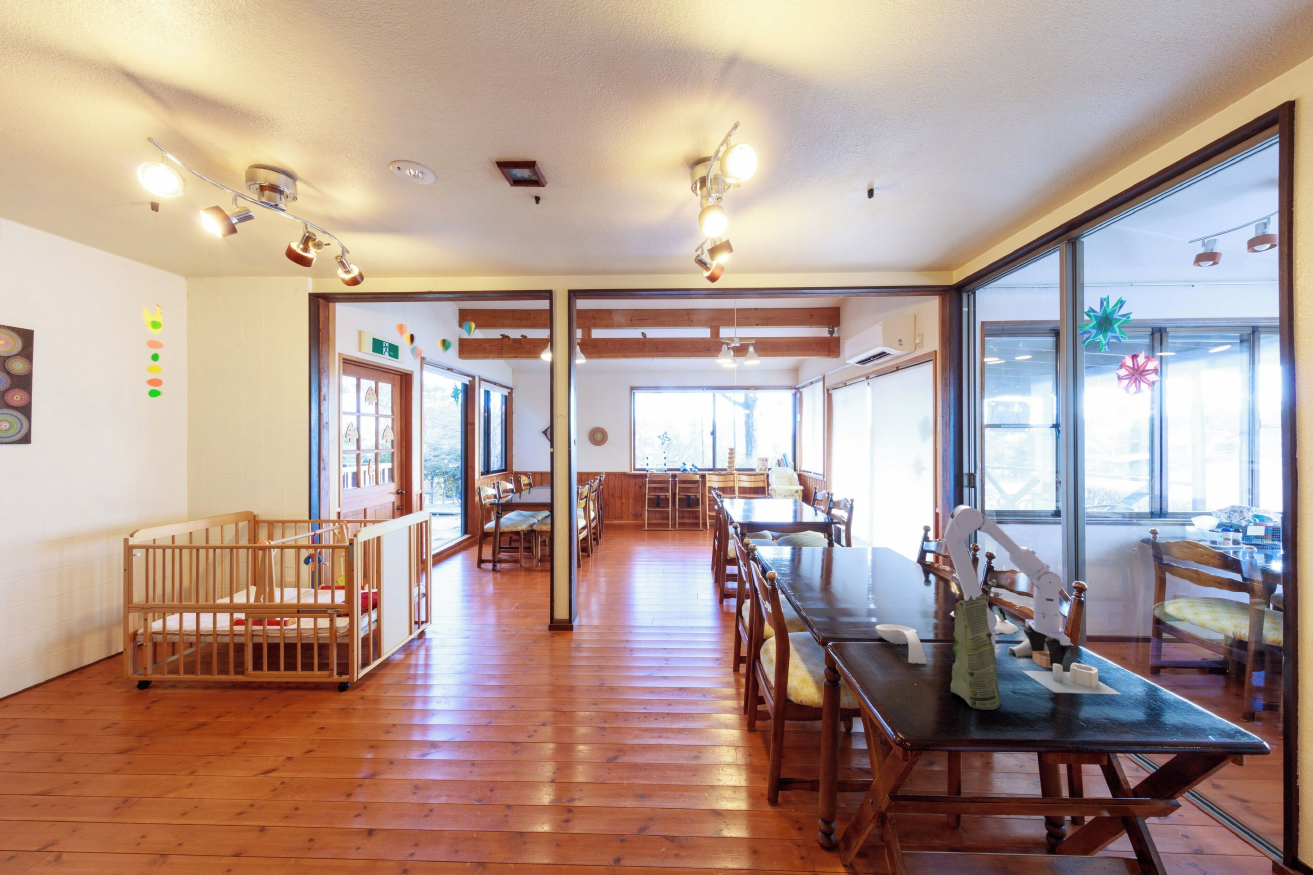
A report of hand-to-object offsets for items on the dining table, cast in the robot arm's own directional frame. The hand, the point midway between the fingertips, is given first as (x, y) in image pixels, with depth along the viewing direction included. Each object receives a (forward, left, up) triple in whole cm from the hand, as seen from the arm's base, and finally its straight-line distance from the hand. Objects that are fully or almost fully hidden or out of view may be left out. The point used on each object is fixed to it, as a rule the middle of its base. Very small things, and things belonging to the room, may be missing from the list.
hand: (1046, 661), depth 140 cm
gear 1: (0, 0, -2) cm, 2 cm away
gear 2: (+2, -10, -1) cm, 11 cm away
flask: (+4, +7, +2) cm, 9 cm away
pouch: (-31, -20, -2) cm, 37 cm away
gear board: (-2, -11, -2) cm, 11 cm away
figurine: (+3, +35, -2) cm, 35 cm away
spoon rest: (-34, +12, -2) cm, 36 cm away
